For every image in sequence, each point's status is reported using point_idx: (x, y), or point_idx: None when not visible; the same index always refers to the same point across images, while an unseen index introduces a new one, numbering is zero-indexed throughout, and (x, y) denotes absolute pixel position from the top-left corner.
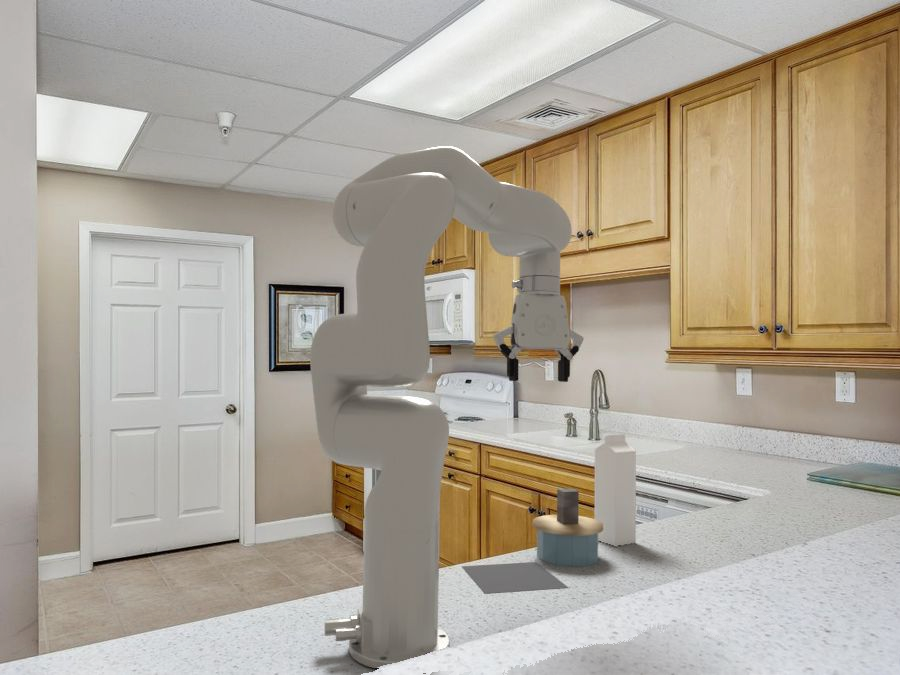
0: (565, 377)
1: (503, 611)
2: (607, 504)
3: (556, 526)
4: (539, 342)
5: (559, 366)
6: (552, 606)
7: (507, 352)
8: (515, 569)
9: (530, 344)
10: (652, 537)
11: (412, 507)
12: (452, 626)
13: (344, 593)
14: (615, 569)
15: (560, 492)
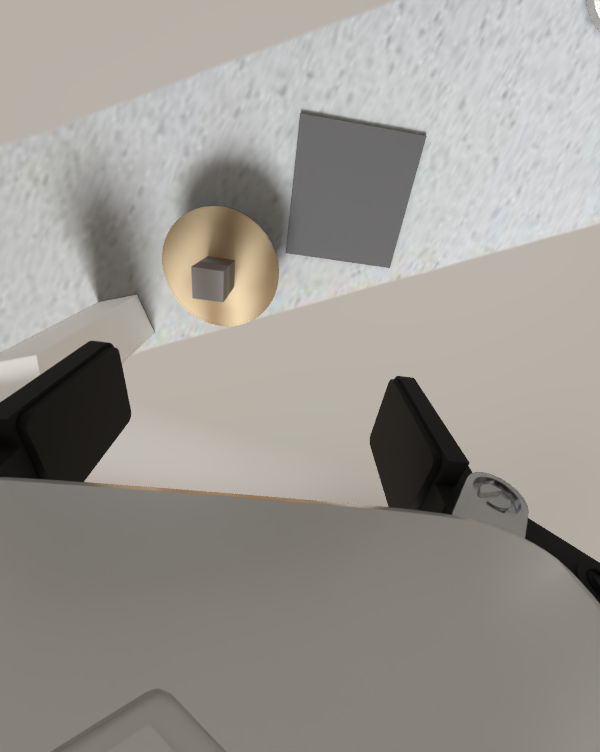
0: (98, 349)
1: (437, 56)
2: (114, 330)
3: (251, 252)
4: (289, 566)
5: (82, 458)
6: (360, 47)
7: (532, 536)
8: (330, 228)
9: (427, 541)
10: (60, 319)
11: None
12: (537, 17)
13: (567, 222)
14: (182, 190)
15: (224, 285)
